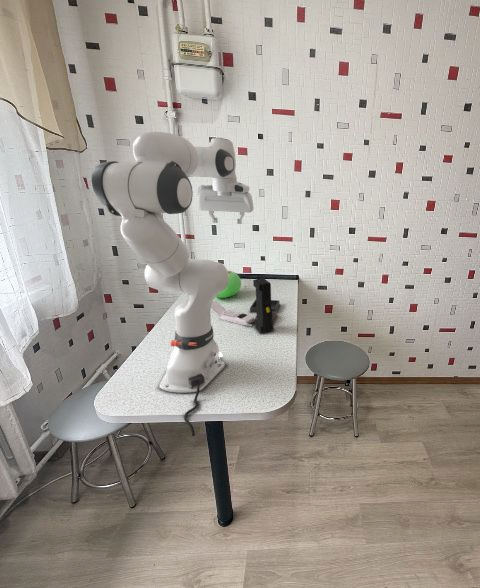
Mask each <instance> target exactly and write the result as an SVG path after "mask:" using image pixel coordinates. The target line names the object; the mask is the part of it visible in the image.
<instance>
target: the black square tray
mask: <svg viewBox="0 0 480 588" xmlns="http://www.w3.org/2000/svg"><path fill="white" fill-rule="evenodd" d="M279 307H280V300H277V299H271V308H272V311H276V312H277V311H278V309H279ZM249 312H250V313H254V314H255V313H256V314H257V310H256V299H254V301H253V302H252V304H251V305H250V307H249Z"/></svg>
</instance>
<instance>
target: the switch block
mask: <svg viewBox="0 0 480 588" xmlns="http://www.w3.org/2000/svg"><path fill="white" fill-rule="evenodd" d="M276 317H277V311H272V319H273V323H274V322H275V319H276ZM256 320H257V315H256V316H255V317H254V321H253V322H254V325H255V321H256Z"/></svg>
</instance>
